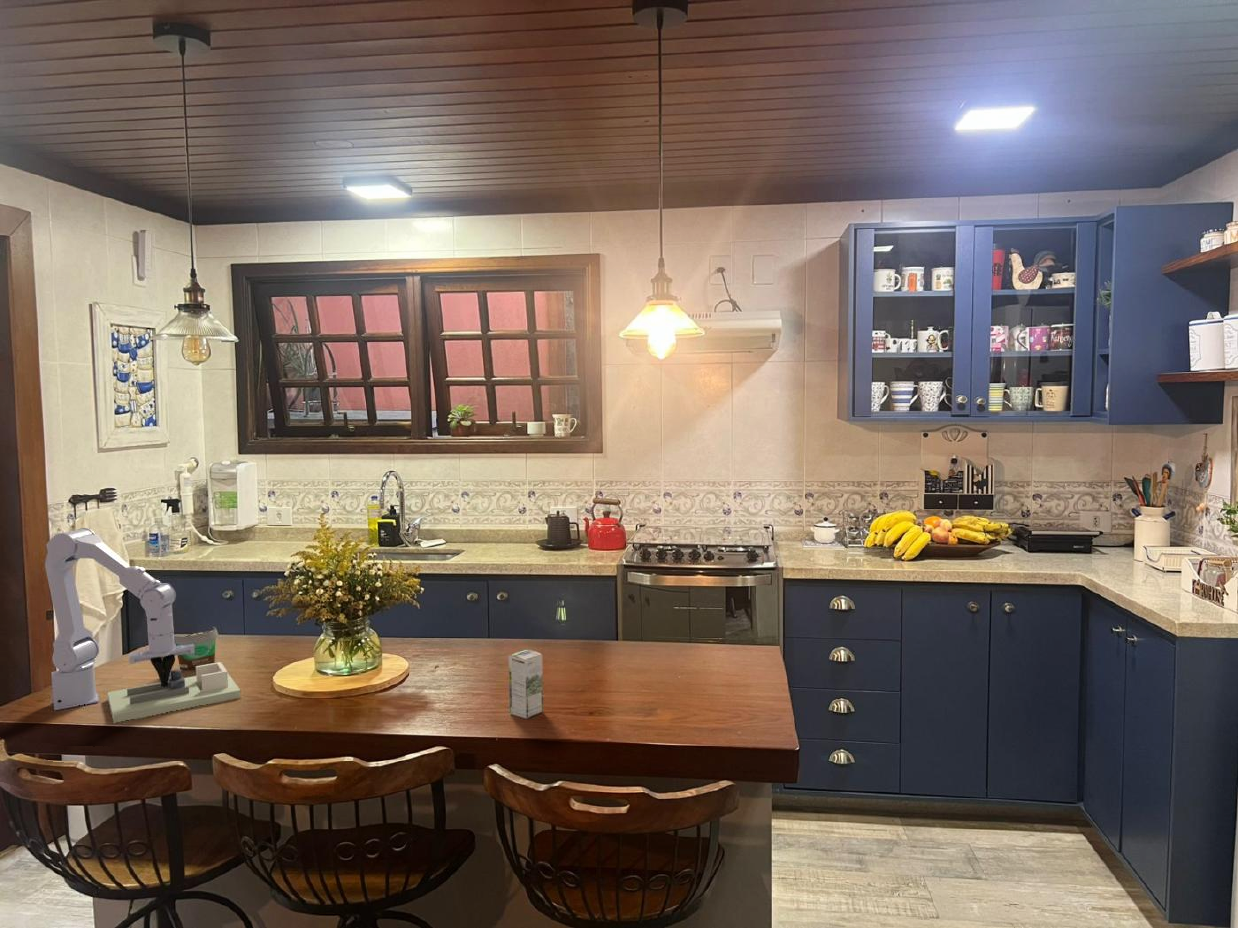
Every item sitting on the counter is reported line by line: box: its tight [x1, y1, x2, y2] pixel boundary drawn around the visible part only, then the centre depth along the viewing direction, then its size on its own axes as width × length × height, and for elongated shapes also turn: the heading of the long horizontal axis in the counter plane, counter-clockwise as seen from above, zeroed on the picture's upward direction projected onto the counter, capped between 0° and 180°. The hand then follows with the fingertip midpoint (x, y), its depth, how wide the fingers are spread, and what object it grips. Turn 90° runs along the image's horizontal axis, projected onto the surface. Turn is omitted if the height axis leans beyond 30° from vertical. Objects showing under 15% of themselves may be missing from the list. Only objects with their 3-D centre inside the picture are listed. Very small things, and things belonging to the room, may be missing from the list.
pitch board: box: [107, 671, 242, 724], centre depth 217 cm, size 28×20×4 cm
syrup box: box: [508, 649, 544, 720], centre depth 201 cm, size 6×6×14 cm
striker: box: [168, 668, 185, 690], centre depth 217 cm, size 3×6×5 cm, turn 35°
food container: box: [174, 626, 219, 671], centre depth 243 cm, size 12×6×10 cm, turn 143°
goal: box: [195, 661, 229, 691], centre depth 222 cm, size 6×10×4 cm, turn 34°
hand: (164, 685), depth 216 cm, fingers closed
